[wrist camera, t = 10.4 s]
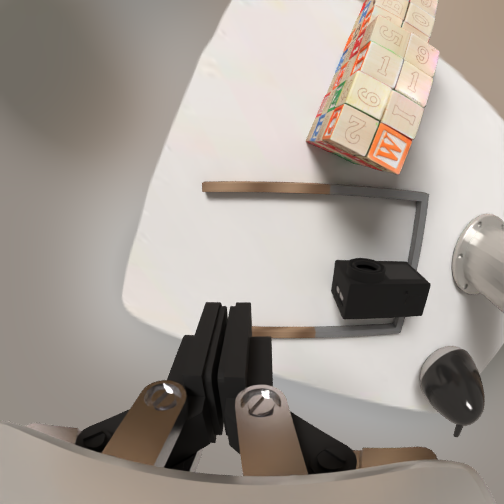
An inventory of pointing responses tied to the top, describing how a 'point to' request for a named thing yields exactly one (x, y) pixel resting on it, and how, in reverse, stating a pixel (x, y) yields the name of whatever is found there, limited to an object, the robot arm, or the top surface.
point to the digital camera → (378, 289)
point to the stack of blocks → (380, 85)
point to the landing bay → (412, 260)
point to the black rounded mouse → (453, 386)
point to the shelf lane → (272, 187)
